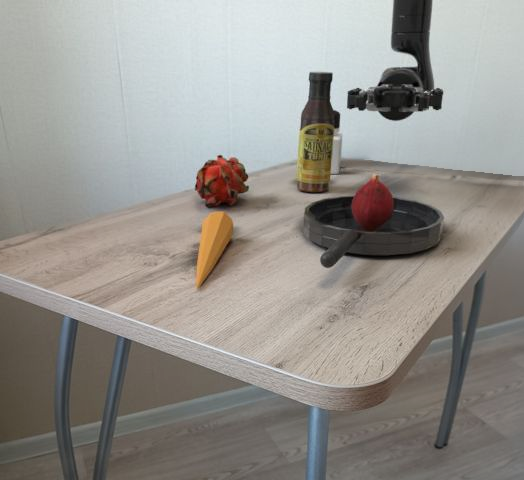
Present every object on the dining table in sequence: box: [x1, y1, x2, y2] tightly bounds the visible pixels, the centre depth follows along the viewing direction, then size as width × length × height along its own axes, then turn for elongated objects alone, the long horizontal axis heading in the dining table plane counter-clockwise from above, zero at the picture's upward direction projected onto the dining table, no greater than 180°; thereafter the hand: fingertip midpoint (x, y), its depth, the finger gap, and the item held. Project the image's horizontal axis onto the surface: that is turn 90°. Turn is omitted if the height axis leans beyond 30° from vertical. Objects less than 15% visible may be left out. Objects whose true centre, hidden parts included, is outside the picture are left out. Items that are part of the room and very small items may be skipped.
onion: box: [351, 173, 394, 232], centre depth 77 cm, size 6×6×8 cm
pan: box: [302, 194, 445, 257], centre depth 78 cm, size 19×19×4 cm
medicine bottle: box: [330, 109, 343, 175], centre depth 116 cm, size 7×7×12 cm
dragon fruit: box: [194, 154, 250, 208], centre depth 93 cm, size 8×8×12 cm
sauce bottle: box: [296, 71, 335, 193], centre depth 99 cm, size 6×6×20 cm
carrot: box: [195, 211, 234, 291], centre depth 70 cm, size 20×4×4 cm, turn 176°
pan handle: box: [319, 230, 358, 269], centre depth 66 cm, size 11×2×2 cm, turn 155°
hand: (390, 103), depth 80 cm, fingers open, 8 cm apart
